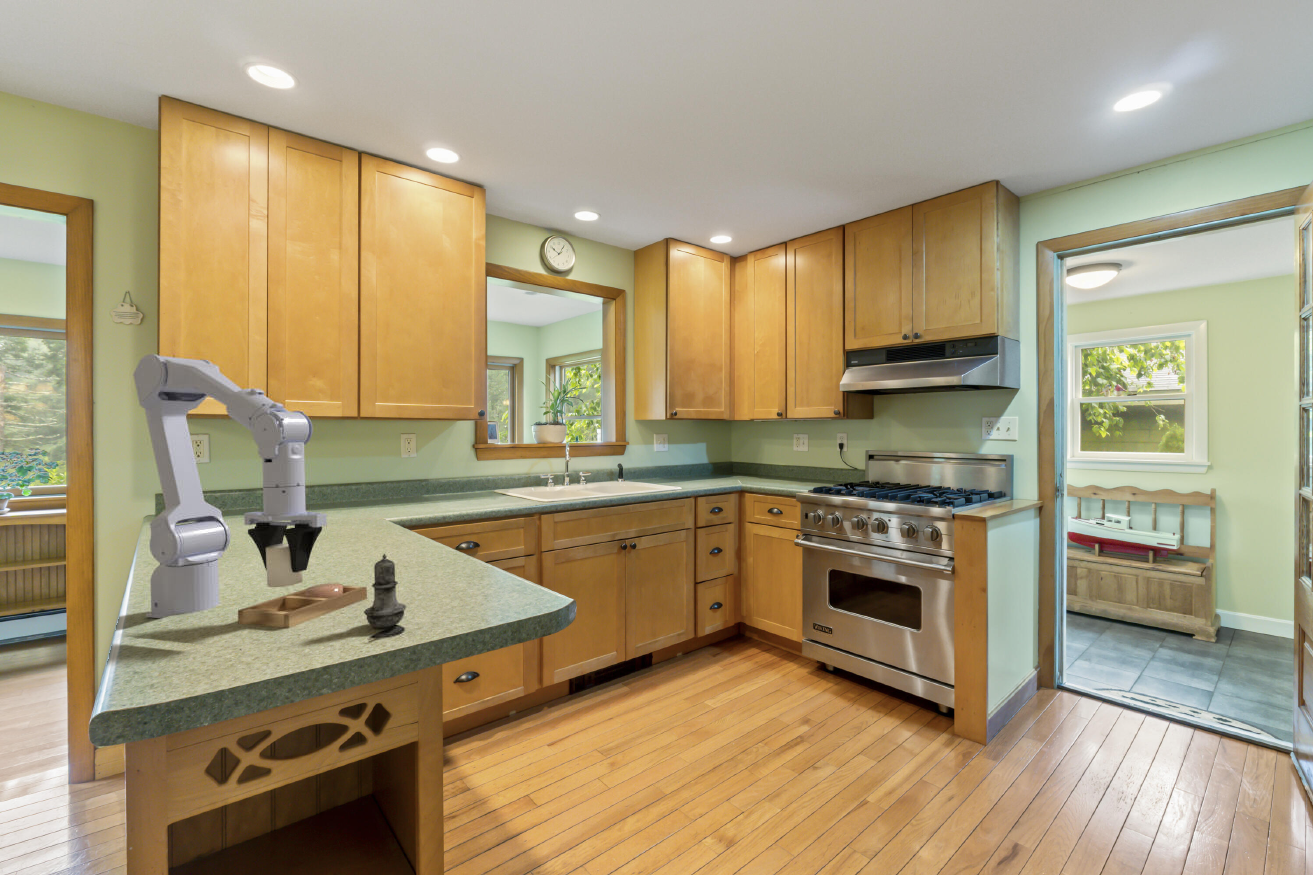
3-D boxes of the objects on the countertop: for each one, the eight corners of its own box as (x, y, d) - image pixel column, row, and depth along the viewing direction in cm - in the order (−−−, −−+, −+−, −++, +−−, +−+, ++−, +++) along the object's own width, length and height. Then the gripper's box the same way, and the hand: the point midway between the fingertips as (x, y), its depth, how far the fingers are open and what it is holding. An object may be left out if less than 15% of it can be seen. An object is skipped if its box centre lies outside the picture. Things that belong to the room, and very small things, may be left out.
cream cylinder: (259, 586, 93) (258, 548, 93) (287, 578, 97) (285, 542, 97) (283, 588, 91) (281, 549, 91) (309, 579, 96) (308, 543, 96)
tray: (238, 629, 92) (237, 610, 92) (321, 600, 107) (320, 584, 107) (289, 634, 89) (289, 614, 89) (367, 603, 105) (366, 587, 105)
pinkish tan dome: (298, 607, 100) (297, 590, 100) (324, 597, 105) (324, 582, 105) (324, 609, 99) (324, 592, 99) (350, 599, 104) (350, 584, 104)
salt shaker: (390, 640, 86) (388, 558, 86) (355, 637, 87) (353, 557, 87) (414, 626, 92) (413, 550, 92) (381, 624, 93) (380, 549, 93)
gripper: (225, 488, 93) (227, 573, 93) (299, 488, 89) (301, 578, 89) (265, 483, 99) (267, 564, 100) (336, 484, 96) (338, 567, 96)
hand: (286, 570), depth 95 cm, fingers closed on cream cylinder, 5 cm apart
